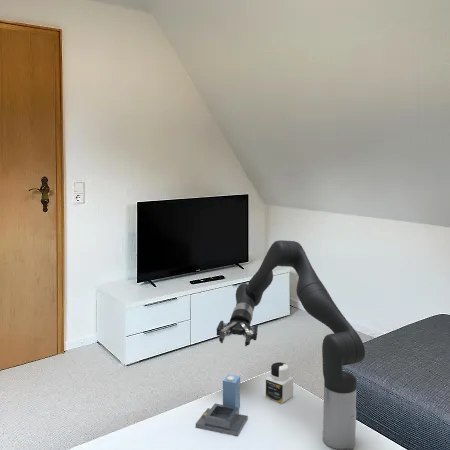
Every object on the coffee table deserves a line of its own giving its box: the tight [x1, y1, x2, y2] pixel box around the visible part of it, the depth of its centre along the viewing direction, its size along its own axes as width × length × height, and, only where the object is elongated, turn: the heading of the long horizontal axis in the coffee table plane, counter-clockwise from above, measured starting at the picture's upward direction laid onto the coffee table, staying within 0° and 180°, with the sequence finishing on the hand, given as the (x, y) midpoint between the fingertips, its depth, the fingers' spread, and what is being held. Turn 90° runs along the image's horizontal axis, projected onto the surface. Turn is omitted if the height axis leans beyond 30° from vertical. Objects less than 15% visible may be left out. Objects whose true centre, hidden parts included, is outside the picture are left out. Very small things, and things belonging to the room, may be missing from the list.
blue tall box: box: [222, 374, 241, 409], centre depth 159 cm, size 4×5×12 cm
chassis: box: [195, 402, 249, 437], centre depth 152 cm, size 14×10×4 cm
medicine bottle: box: [265, 361, 294, 404], centre depth 168 cm, size 7×7×12 cm
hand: (233, 342), depth 162 cm, fingers open, 8 cm apart
